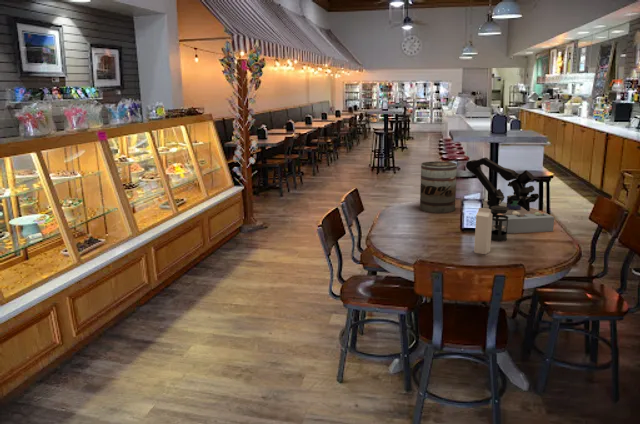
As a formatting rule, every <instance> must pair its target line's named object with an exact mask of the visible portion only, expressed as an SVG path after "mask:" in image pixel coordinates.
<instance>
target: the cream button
mask: <svg viewBox="0 0 640 424" xmlns="http://www.w3.org/2000/svg"><path fill="white" fill-rule="evenodd" d="M511 215H515V216H517V217H521V212H520V211H518V210H512V212H511Z"/></svg>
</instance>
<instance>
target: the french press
mask: <svg viewBox="0 0 640 424" xmlns="http://www.w3.org/2000/svg"><path fill="white" fill-rule="evenodd" d="M496 197H497V198H499V200H500V202H501V198H504V199H505V195H504V196H496ZM501 203H502V202H501ZM508 209H509V208H508V207H507V206H504V205H500V206H492V207H491V212H493V213H499V215H492V217H496V218H492V220H493V221H495V225H492V229H494V230H491V241H493V242H505V241H507V240H508V234H507V226H508V217H507V216H505V215H506V213H507V212H508V211H509V210H508ZM500 214H503V215H500ZM504 214H505V215H504ZM499 217H502V218H506V219H499ZM502 221H507V226H503V225H502ZM505 229H506V232H505V231H502V230H505Z"/></svg>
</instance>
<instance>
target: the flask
mask: <svg viewBox="0 0 640 424" xmlns="http://www.w3.org/2000/svg"><path fill="white" fill-rule="evenodd" d="M513 195H516V194H513ZM510 196H512V194H509V195H507V196H506V200H507V199H508V198H509V197H510ZM517 203H518V201H513V204H508V203H507V202H506V207H508V208H509V209H508V211H520V210H522V207H521V206H520V205H517Z"/></svg>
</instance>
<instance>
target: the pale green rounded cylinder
mask: <svg viewBox="0 0 640 424" xmlns="http://www.w3.org/2000/svg"><path fill="white" fill-rule="evenodd" d="M533 215H536V216H542V212H539V211H535V212H534V213H533Z"/></svg>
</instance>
